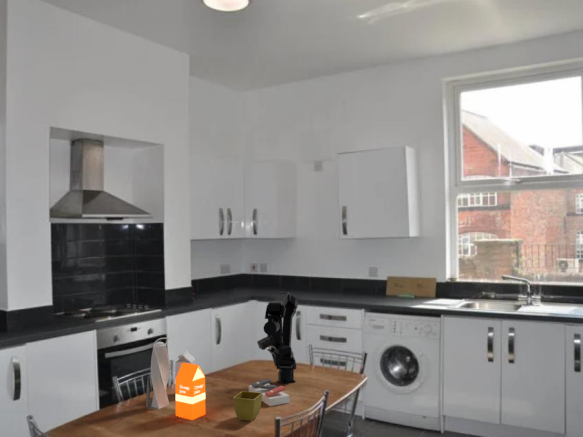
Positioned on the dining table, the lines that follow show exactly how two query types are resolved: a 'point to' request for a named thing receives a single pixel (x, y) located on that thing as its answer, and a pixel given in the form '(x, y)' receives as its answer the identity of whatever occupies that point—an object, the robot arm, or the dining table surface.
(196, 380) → the orange juice
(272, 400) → the power strip
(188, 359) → the milk carton
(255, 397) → the flower pot
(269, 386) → the rocker middle
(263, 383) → the rocker near
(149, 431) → the dining table surface
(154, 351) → the skyscraper
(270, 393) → the rocker red
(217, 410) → the dining table surface
